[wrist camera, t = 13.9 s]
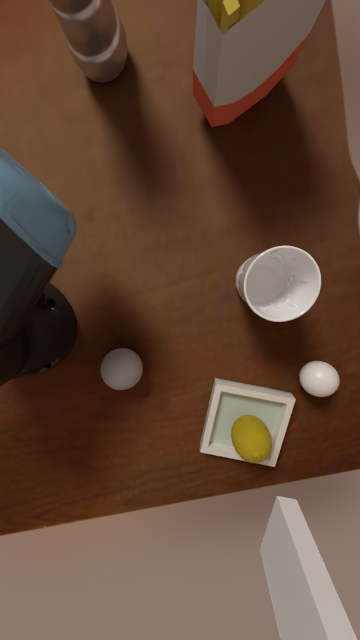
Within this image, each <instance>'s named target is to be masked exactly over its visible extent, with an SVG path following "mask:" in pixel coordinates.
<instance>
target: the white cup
mask: <svg viewBox="0 0 360 640" xmlns="http://www.w3.org/2000/svg"><path fill="white" fill-rule="evenodd" d="M235 282H236V289H237V291H238V292H239V294H240V296H241V298H242V299H243V300H244V302H245V303H246V304H247V305H248V306H249V307H250V308H251V309H252V310H253V311H254V312H255V313H256V314H257V315H259V316H260V317H262V318H264V319H266V320H269V321H274V322H284V321H290V320H293V319H295V318H298V317H299V316H301V315H303V314H304V313H305V312H307V311H308V310H309V309H310V308H311V307H312V305H313V304H314V302H315V301H316V299H317V297H318V295H319V292H320V287H321V275H320V270H319V268H318V265H317V263H316V262H315V260H314V259H313V258H312V257H311V256H310V255H309V254H308V253H307V252H305V251H303V250H302V249H299V248H296V247H292V246H278V247H274V248H271V249H269V250H266V251H263V252H261V253H258V254H256V255H254V256H252V257H251V258H249V259H247V260H246V261H245V262H244V263H243V264H242V265H241V266H240V267H239V269H238V271H237V274H236V276H235Z"/></svg>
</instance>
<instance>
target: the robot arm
mask: <svg viewBox="0 0 360 640" xmlns="http://www.w3.org/2000/svg"><path fill="white" fill-rule="evenodd" d="M75 234H76V222H75V219H74V216H73V214H72V213H71V211H70V210H69V209H68V208H67V207H66V205H65V204H64V203H63V202H62V201H61V200H59V199H58V198H57V197H56V196H55V195H54V194H53V193H52V192H51V191H50V190H49V189H48V188H46V187H45V186H44V185H43V184H42V183H41V182H40V181H39V180H37V179H36V178H35V177H34V176H33V175H32V174H31V173H29V172H28V171H27V170H26V169H25V168H24V167H22V166H21V165H20V164H19V163H18V162H17V161H15V160H14V159H13V158H12V157H11V156H9V155H8V154H7V153H6V152H5V151H3V150H2V149H1V148H0V386H2V385H4V384H5V383H7V382H8V381H10V380H11V379H13V378H19V377H25V376H30V375H36V374H40V373H43V372H45V371H48V370H50V369H51V368H53V367H54V366H56V365H57V364H59V363H60V362H61V361H63V360H64V359H65V358H66V357H67V355H68V354H69V353H70V351H71V349H72V347H73V345H74V342H75V338H76V320H75V316H74V313H73V310H72V308H71V306H70V304H69V302H68V301H67V299H66V298H65V297H64V295H63V294H62V293H61V292H60V291H59V290H58V289H57V288H56V287H54V286H53V285H52V284H50V283H49V282H50V280H51V279H52V277H53V276H54V274H55V272H56V271H57V269H58V268H59V269H60V268H61V266H62V264H63V263H62V260H63V258H64V256H65V254H66V252H67V250H68V248H69V246H70V244H71V243H72V241H73V239H74V237H75ZM260 552H261V557H262V561H263V565H264V570H265V574H266V579H267V583H268V588H269V592H270V596H271V601H272V605H273V609H274V614H275V618H276V622H277V627H278V631H279V635H280V639H281V640H357V638H356V636H355V634H354V631H353V629H352V627H351V624H350V622H349V620H348V618H347V615H346V613H345V611H344V608H343V606H342V604H341V602H340V599H339V597H338V595H337V592H336V590H335V588H334V585H333V583H332V581H331V578H330V576H329V574H328V571H327V569H326V567H325V565H324V562H323V560H322V558H321V555H320V553H319V551H318V549H317V546H316V544H315V542H314V539H313V537H312V535H311V532H310V530H309V528H308V526H307V523H306V521H305V519H304V516H303V514H302V512H301V509H300V507H299V505H298V502H297V500H295V499H290V498H285V497H280V496H277V497H276V501H275V504H274V507H273V510H272V513H271V517H270V520H269V522H268V526H267V529H266V532H265V535H264V538H263V541H262V545H261V548H260Z"/></svg>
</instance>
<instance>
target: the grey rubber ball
mask: <svg viewBox="0 0 360 640" xmlns="http://www.w3.org/2000/svg"><path fill="white" fill-rule="evenodd" d="M142 371H143V365H142V361H141V359H140V357H139V356H138V355H137V354H136V353H135V352H134V351H132V350H130V349H127V348H118V349H115V350H113V351H111V352H110V353H108V354H107V355H106V356H105V358H104V359H103V361H102V364H101V376H102V379H103V381H104V382H105V383H106V384H107V385H108V386H109V387H111V388H113V389H116V390H125V389H129V388H131V387H133V386H134V385H135V384H136V383H137V382H138V381H139V379H140V378H141V375H142Z"/></svg>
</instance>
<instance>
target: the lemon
mask: <svg viewBox="0 0 360 640" xmlns="http://www.w3.org/2000/svg"><path fill="white" fill-rule="evenodd" d="M231 439H232V444H233V446H234V448H235V450H236V452H237V453H238V455H239V456H240V457H241V458H242V459H244V460H245V461H247V462H250V463H260V462H262V461H264V460H265V459H267V458H268V456H269V455H270V452H271V449H272V439H271V435H270V432H269V430H268V428H267V426H266V425H265V423H264V422H263V421H262V420H261V419H259V418H258V417H256V416H253V415H243V416H240V417H239V418H237V419H236V420H235V422H234V423H233V425H232V428H231Z"/></svg>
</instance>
